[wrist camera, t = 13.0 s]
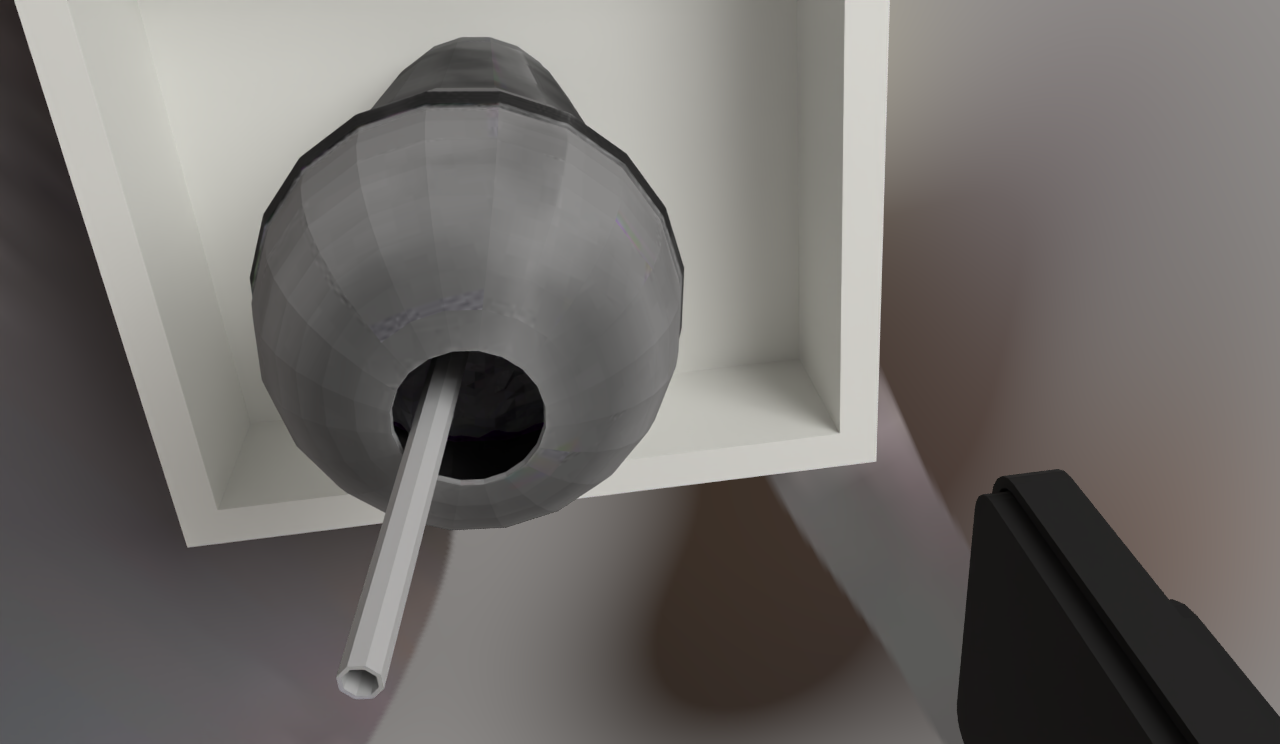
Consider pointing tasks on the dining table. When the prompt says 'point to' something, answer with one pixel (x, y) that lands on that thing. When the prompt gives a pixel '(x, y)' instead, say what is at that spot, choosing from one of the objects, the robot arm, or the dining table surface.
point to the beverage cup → (463, 311)
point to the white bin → (606, 101)
